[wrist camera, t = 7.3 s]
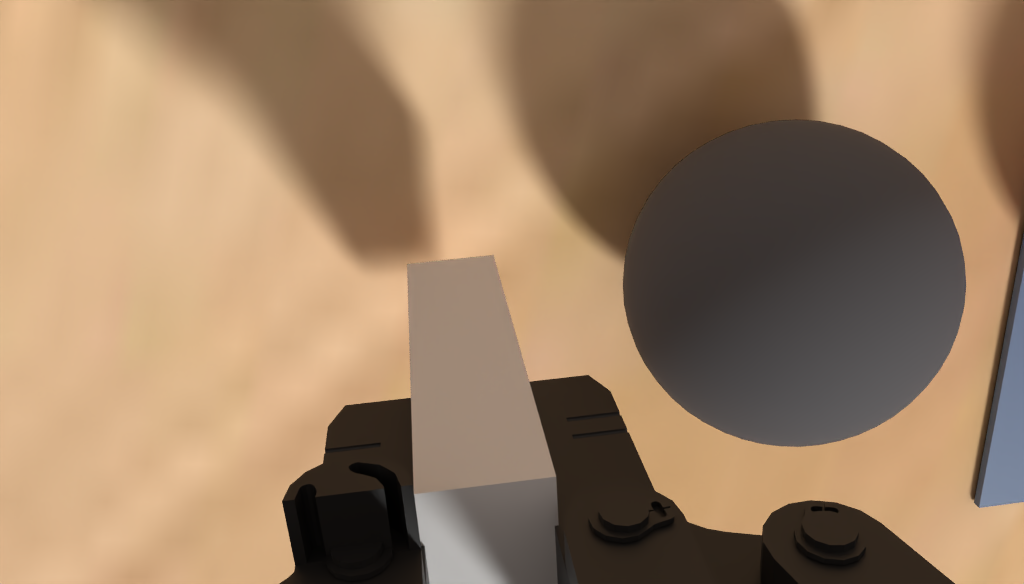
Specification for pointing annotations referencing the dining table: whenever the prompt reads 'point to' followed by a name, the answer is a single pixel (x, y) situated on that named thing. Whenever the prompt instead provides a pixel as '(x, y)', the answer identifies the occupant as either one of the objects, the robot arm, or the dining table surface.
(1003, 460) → the blue flat square slab
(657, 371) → the dark gray ball
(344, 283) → the dining table surface
